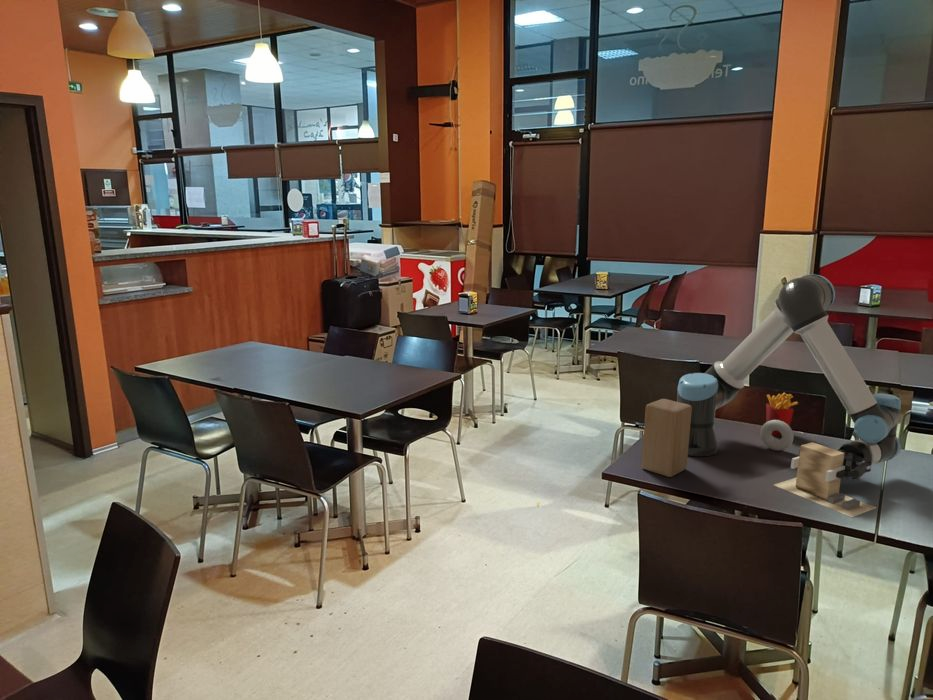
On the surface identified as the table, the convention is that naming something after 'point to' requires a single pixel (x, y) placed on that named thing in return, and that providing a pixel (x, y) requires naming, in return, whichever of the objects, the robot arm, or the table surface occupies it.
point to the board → (790, 487)
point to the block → (666, 437)
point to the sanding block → (818, 469)
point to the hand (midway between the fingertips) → (809, 470)
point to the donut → (783, 429)
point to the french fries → (779, 410)
